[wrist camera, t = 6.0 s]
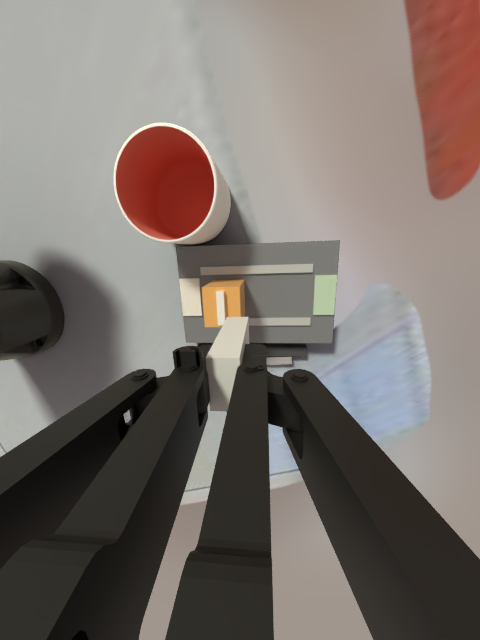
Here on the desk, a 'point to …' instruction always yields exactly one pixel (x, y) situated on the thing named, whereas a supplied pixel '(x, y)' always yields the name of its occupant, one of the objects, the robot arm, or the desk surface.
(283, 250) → the box
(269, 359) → the cord grey
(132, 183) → the cup
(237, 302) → the breaker toggle
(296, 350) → the black bar
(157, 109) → the desk surface
